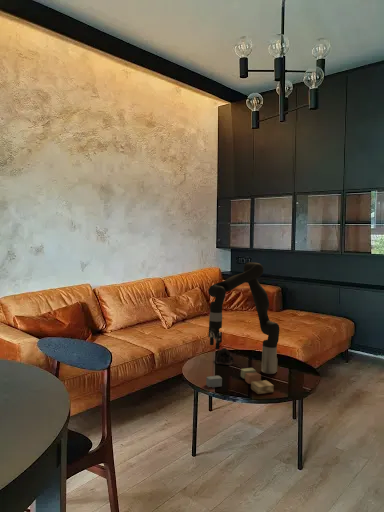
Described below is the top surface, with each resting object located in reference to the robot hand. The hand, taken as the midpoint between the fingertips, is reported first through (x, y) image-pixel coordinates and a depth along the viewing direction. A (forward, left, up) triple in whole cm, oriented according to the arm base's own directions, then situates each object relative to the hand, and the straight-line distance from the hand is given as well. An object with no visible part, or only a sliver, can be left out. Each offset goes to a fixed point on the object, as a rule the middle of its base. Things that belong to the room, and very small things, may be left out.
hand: (214, 347), depth 228 cm
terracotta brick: (-26, +2, -23) cm, 34 cm away
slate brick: (0, +1, -23) cm, 23 cm away
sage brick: (-27, -6, -23) cm, 36 cm away
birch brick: (-24, +15, -23) cm, 36 cm away
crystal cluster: (-25, -36, -23) cm, 49 cm away
